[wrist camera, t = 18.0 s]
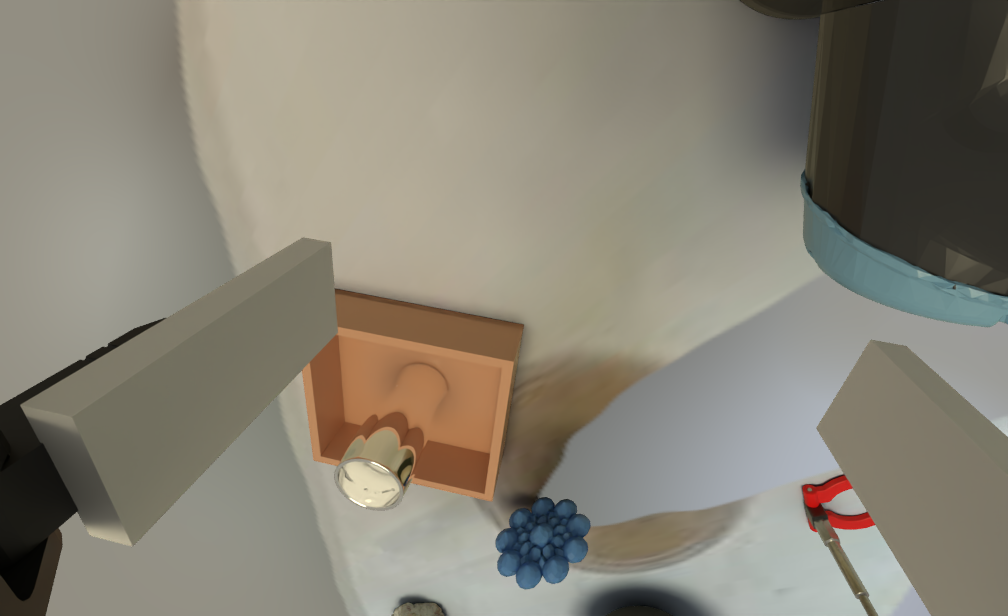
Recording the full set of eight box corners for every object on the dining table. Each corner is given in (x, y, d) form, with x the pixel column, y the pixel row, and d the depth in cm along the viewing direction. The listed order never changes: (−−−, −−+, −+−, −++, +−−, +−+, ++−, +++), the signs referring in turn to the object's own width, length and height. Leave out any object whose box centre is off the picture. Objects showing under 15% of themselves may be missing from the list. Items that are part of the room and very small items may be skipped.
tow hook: (891, 464, 49) (797, 479, 52) (987, 581, 38) (861, 593, 41) (894, 515, 53) (806, 527, 55) (984, 637, 41) (868, 645, 44)
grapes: (510, 519, 64) (494, 608, 53) (501, 485, 61) (482, 572, 51) (593, 521, 61) (593, 615, 51) (588, 486, 58) (587, 577, 48)
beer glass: (451, 364, 51) (403, 465, 38) (451, 411, 55) (406, 518, 42) (393, 355, 52) (326, 451, 39) (396, 401, 56) (336, 504, 43)
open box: (523, 324, 49) (513, 361, 42) (502, 456, 58) (492, 501, 52) (331, 288, 51) (295, 318, 45) (341, 420, 60) (313, 460, 54)
